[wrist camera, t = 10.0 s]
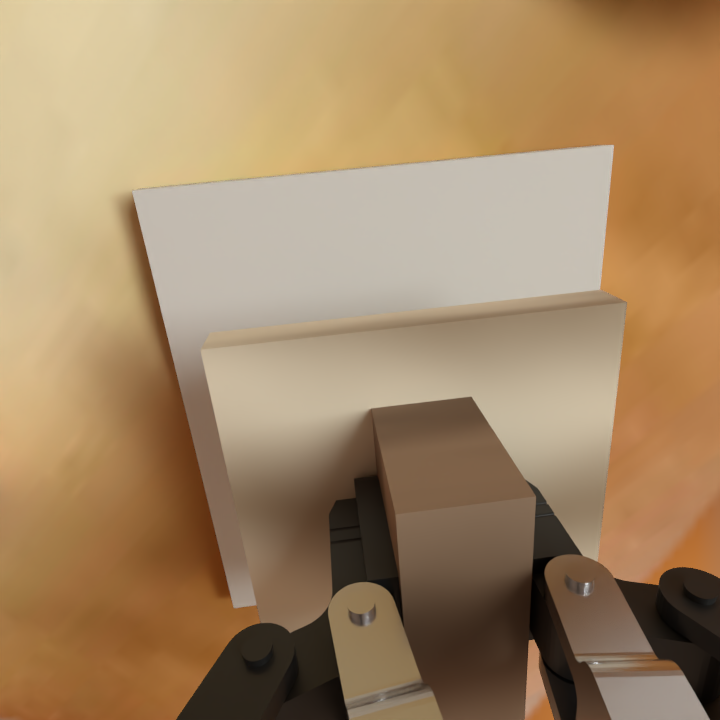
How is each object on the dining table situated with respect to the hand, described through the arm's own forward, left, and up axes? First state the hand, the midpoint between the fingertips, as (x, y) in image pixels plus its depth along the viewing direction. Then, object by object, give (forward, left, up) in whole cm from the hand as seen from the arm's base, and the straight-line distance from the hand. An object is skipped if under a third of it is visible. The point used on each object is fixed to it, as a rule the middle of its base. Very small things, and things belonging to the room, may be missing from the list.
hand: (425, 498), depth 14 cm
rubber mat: (0, 0, -5) cm, 5 cm away
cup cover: (0, 0, -1) cm, 1 cm away
